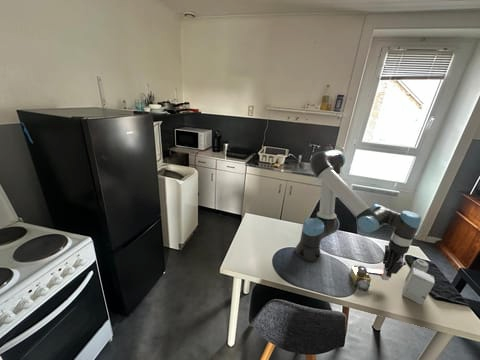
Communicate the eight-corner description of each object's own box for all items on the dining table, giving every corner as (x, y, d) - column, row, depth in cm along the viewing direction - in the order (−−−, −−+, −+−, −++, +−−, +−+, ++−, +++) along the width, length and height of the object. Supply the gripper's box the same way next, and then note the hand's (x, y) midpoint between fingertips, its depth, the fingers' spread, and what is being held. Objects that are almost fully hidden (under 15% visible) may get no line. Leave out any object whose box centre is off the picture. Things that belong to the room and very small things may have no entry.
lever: (359, 274, 107) (360, 271, 106) (356, 268, 111) (356, 265, 111) (391, 279, 105) (392, 276, 104) (386, 272, 109) (388, 269, 109)
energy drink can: (414, 289, 108) (425, 268, 102) (402, 280, 113) (412, 259, 107) (421, 286, 110) (432, 264, 104) (409, 277, 115) (419, 256, 110)
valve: (370, 292, 105) (374, 283, 103) (356, 289, 106) (359, 280, 104) (360, 272, 117) (363, 264, 115) (348, 270, 118) (350, 262, 115)
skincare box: (401, 295, 104) (412, 273, 99) (402, 287, 108) (412, 266, 103) (422, 305, 99) (435, 283, 94) (422, 297, 103) (434, 275, 98)
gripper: (418, 252, 90) (399, 290, 99) (400, 234, 102) (385, 270, 111) (400, 250, 91) (383, 288, 100) (384, 232, 103) (370, 268, 112)
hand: (384, 278), depth 105 cm, fingers closed
